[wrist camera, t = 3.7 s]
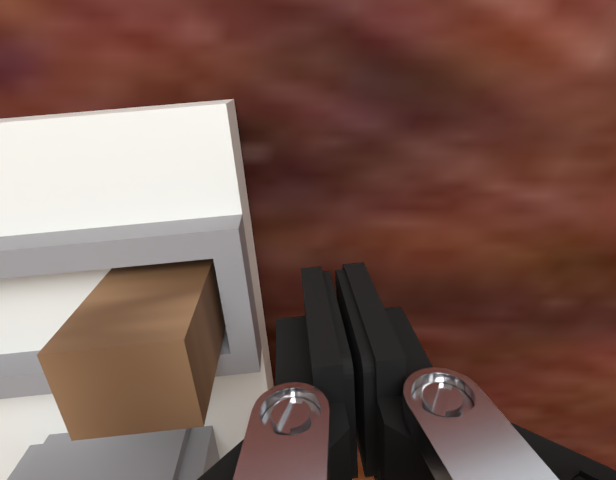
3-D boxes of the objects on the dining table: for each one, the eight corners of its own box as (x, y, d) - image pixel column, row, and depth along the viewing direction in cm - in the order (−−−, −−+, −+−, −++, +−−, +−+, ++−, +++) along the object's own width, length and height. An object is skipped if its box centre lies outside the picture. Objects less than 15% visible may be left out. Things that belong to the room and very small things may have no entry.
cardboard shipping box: (213, 258, 12) (184, 340, 8) (225, 326, 13) (203, 426, 9) (111, 268, 12) (36, 354, 8) (131, 335, 13) (71, 440, 9)
